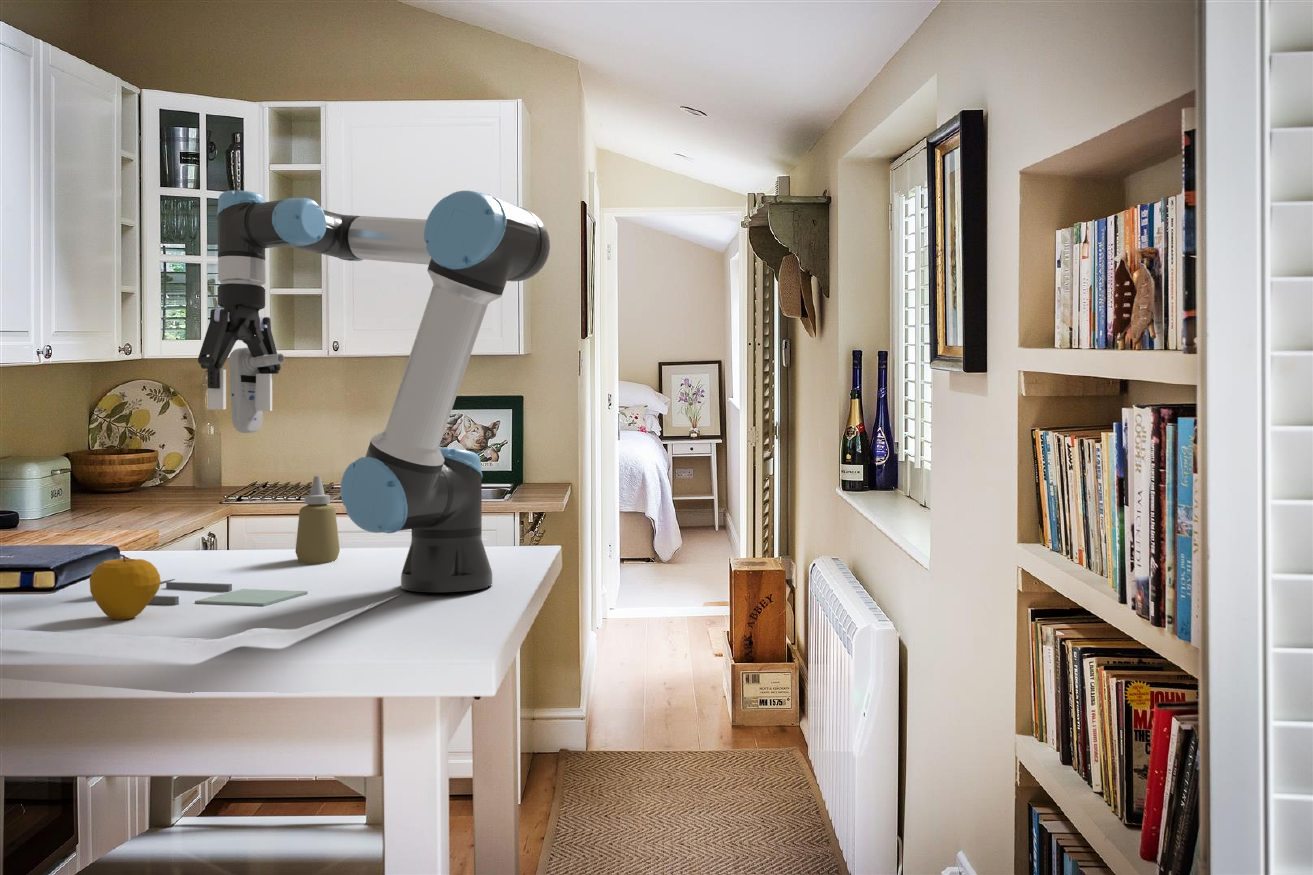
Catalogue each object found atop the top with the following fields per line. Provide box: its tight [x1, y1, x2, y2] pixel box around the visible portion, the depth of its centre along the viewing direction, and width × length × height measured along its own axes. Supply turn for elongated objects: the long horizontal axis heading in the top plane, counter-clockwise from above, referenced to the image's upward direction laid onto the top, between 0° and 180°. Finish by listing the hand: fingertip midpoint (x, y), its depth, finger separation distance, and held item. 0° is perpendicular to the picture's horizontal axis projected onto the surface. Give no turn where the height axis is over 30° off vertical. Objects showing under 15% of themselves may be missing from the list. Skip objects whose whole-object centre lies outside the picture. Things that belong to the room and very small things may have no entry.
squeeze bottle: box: [294, 475, 341, 565], centre depth 194 cm, size 8×8×18 cm
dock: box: [92, 578, 233, 606], centre depth 167 cm, size 17×19×4 cm
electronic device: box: [228, 347, 285, 434], centre depth 178 cm, size 5×10×15 cm, turn 67°
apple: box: [89, 555, 162, 621], centre depth 145 cm, size 9×9×9 cm
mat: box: [194, 588, 309, 607], centre depth 161 cm, size 12×12×1 cm
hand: (241, 410), depth 172 cm, fingers open, 13 cm apart
